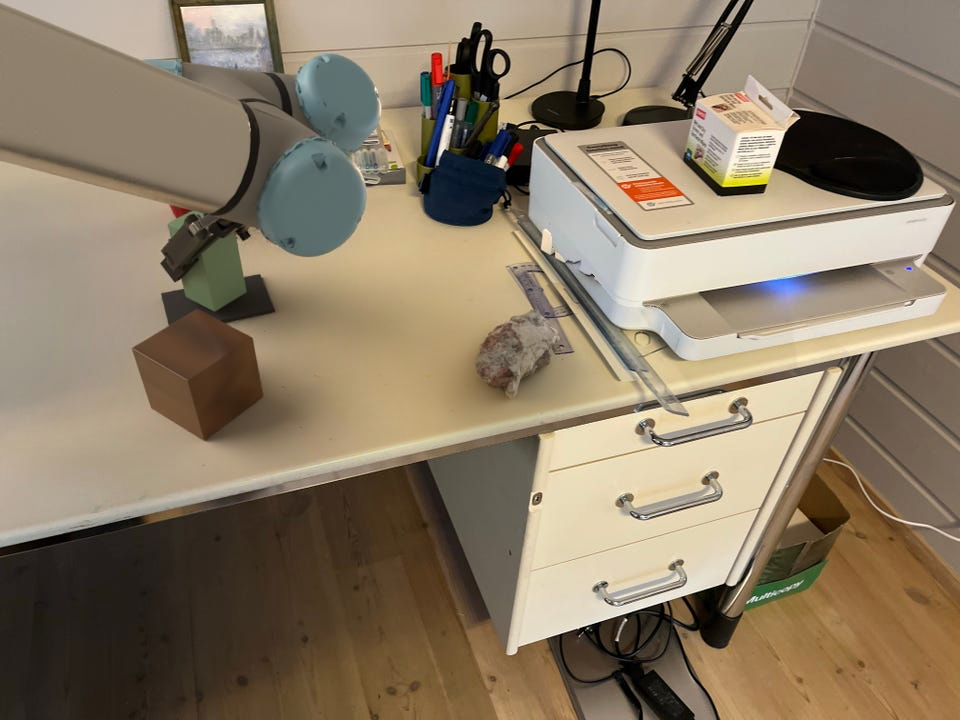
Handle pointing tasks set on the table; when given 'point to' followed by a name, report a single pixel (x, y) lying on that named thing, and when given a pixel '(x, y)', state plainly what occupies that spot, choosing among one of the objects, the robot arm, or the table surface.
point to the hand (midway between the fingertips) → (189, 260)
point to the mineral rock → (515, 351)
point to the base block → (199, 373)
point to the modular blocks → (549, 245)
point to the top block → (213, 271)
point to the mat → (239, 308)
